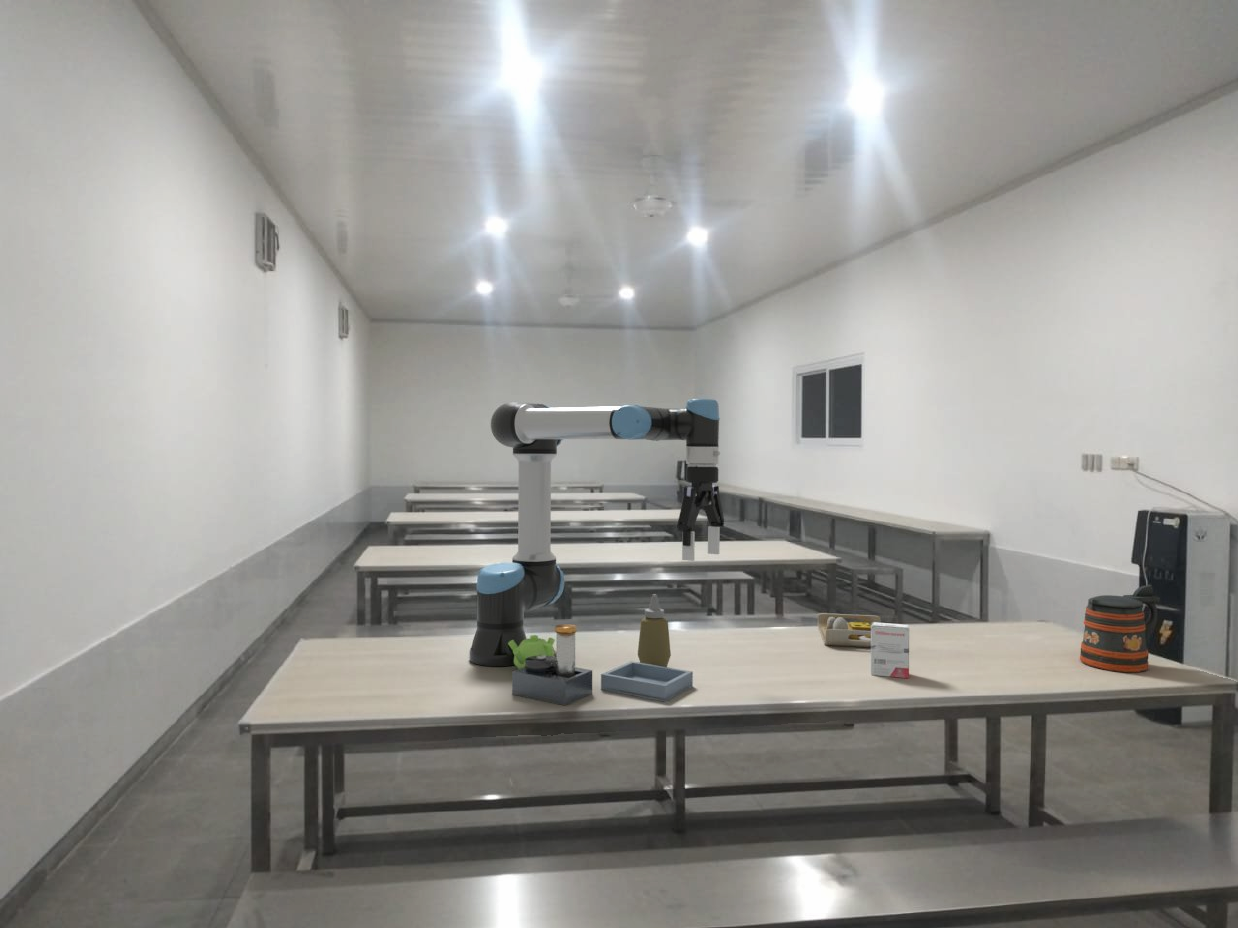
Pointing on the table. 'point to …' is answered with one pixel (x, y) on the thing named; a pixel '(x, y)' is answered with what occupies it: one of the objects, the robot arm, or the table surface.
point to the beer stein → (1119, 631)
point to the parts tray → (647, 680)
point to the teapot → (531, 649)
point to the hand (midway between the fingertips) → (701, 557)
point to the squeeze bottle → (654, 636)
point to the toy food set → (846, 629)
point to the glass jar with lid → (565, 650)
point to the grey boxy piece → (550, 681)
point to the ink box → (890, 650)
